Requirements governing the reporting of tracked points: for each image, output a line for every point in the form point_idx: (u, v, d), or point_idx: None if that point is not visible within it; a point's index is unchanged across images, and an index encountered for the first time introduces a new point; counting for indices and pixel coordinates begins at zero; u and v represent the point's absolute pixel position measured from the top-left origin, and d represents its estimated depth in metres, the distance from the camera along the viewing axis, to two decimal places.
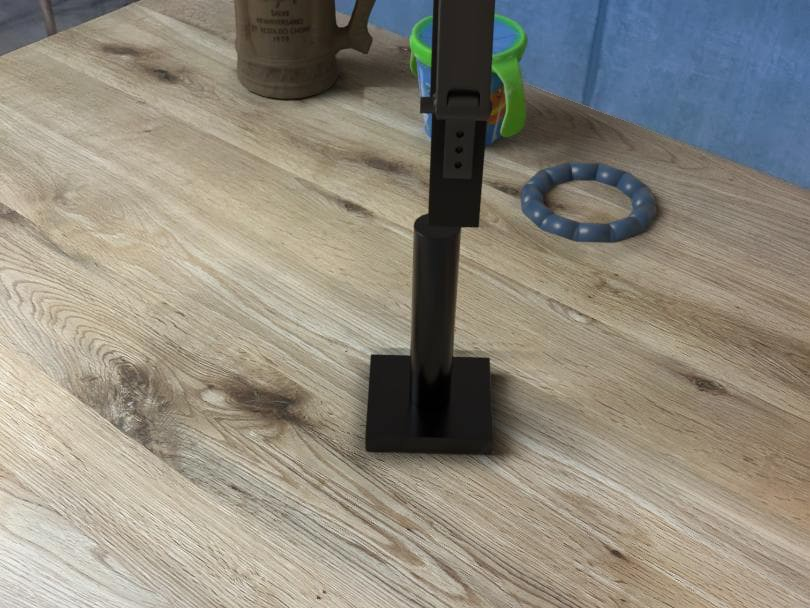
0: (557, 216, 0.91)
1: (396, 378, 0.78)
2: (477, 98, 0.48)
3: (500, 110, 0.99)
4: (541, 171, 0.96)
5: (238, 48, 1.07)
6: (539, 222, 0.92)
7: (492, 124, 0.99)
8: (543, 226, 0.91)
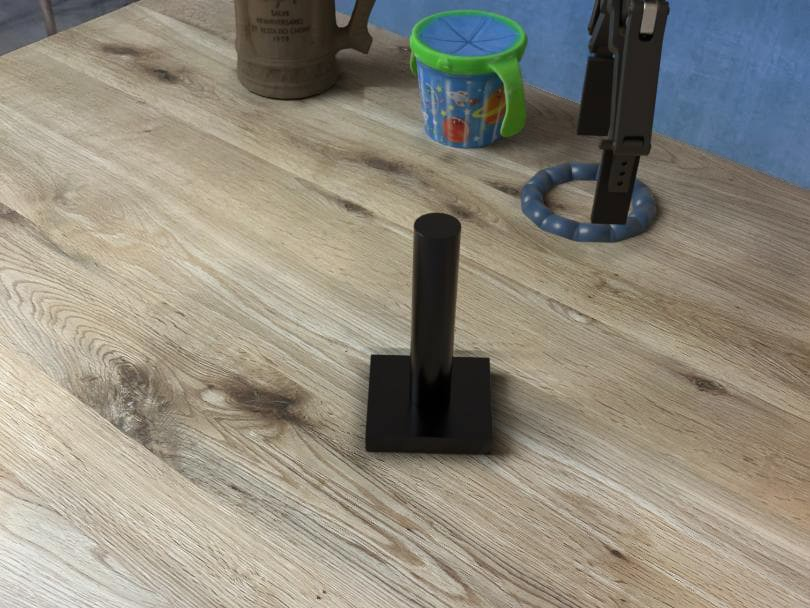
0: (557, 216, 0.91)
1: (396, 378, 0.78)
2: (642, 141, 0.74)
3: (500, 110, 0.99)
4: (541, 171, 0.96)
5: (238, 48, 1.07)
6: (539, 222, 0.92)
7: (492, 124, 0.99)
8: (543, 226, 0.91)
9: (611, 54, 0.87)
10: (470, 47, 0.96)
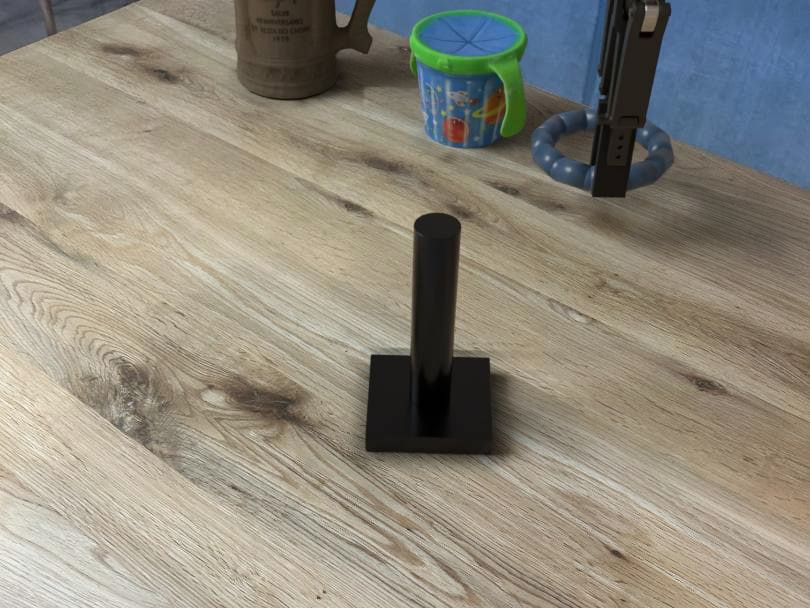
0: (568, 159, 0.87)
1: (396, 378, 0.78)
2: None
3: (500, 110, 0.99)
4: (554, 116, 0.92)
5: (238, 48, 1.07)
6: (549, 165, 0.88)
7: (492, 124, 0.99)
8: (553, 169, 0.87)
9: None
10: (470, 47, 0.96)
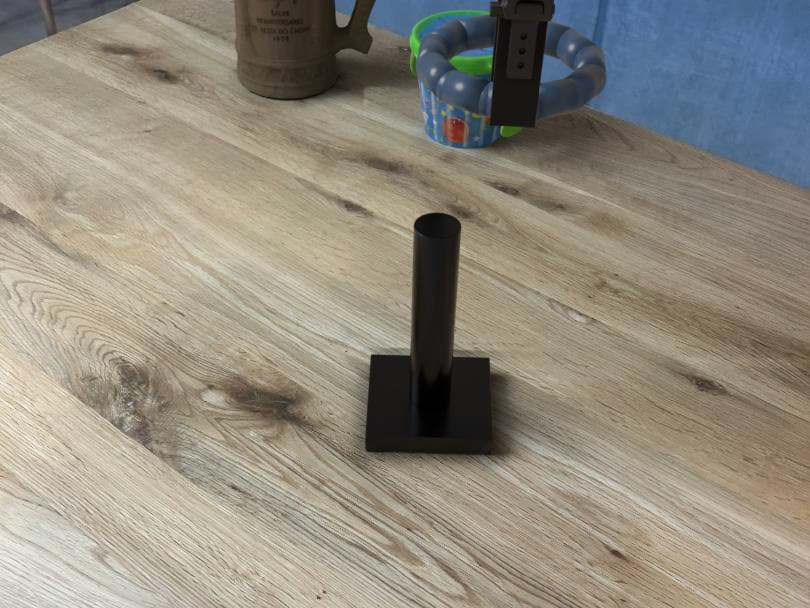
0: (460, 72, 0.64)
1: (396, 378, 0.78)
2: (542, 0, 0.55)
3: None
4: (452, 21, 0.69)
5: (238, 48, 1.07)
6: (435, 81, 0.65)
7: None
8: (440, 86, 0.64)
9: None
10: None
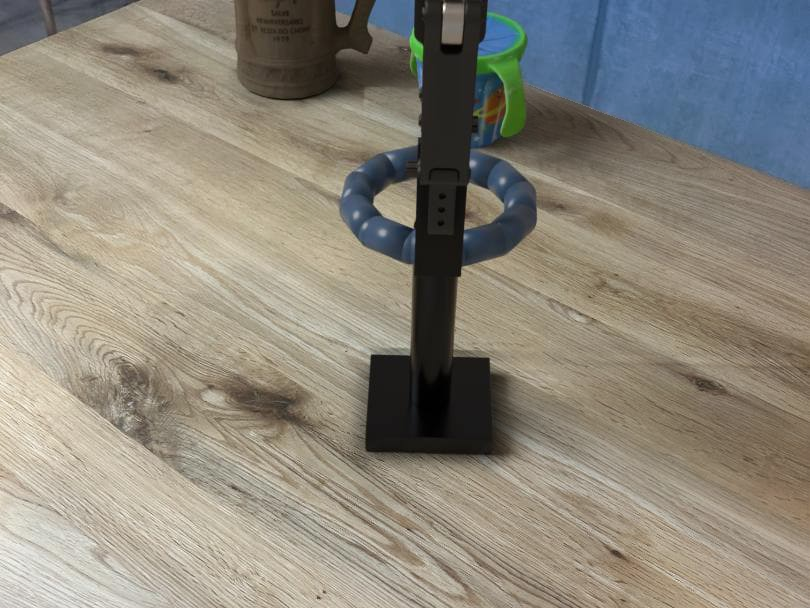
0: (383, 219, 0.61)
1: (396, 378, 0.78)
2: None
3: (500, 110, 0.99)
4: (378, 155, 0.66)
5: (238, 48, 1.07)
6: (358, 227, 0.62)
7: (492, 124, 0.99)
8: (362, 233, 0.62)
9: None
10: None
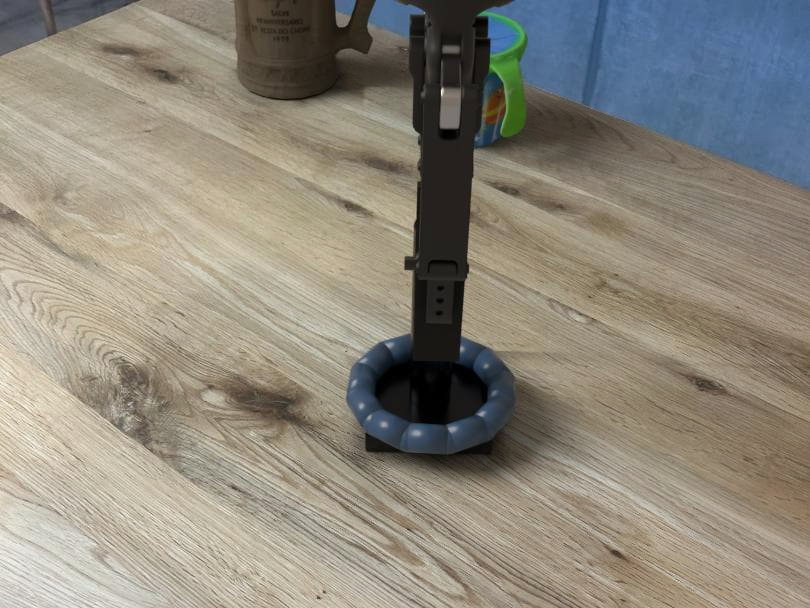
0: (383, 413, 0.72)
1: (396, 378, 0.78)
2: (455, 263, 0.53)
3: (500, 110, 0.99)
4: (379, 344, 0.77)
5: (238, 48, 1.07)
6: (362, 419, 0.73)
7: (492, 124, 0.99)
8: (366, 425, 0.72)
9: None
10: None
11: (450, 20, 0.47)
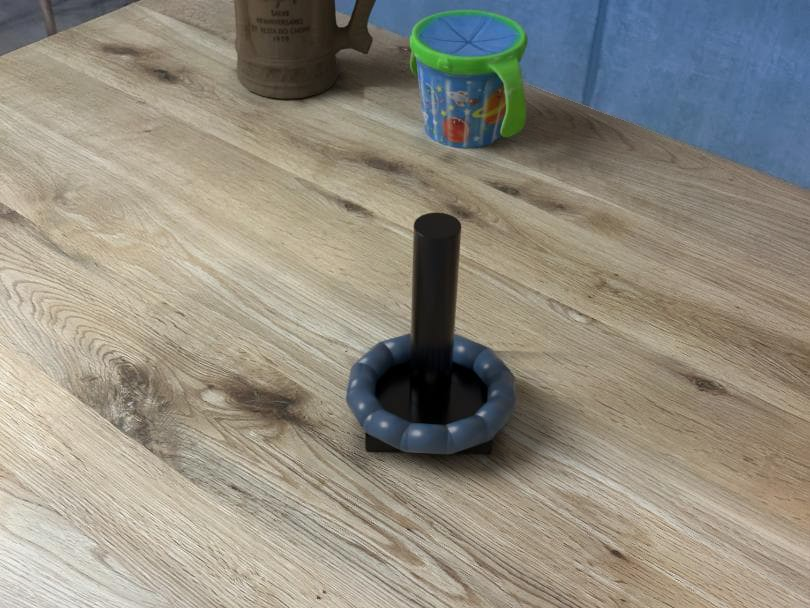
0: (383, 413, 0.72)
1: (396, 378, 0.78)
2: None
3: (500, 110, 0.99)
4: (379, 344, 0.77)
5: (238, 48, 1.07)
6: (362, 419, 0.73)
7: (492, 124, 0.99)
8: (366, 425, 0.72)
9: None
10: (470, 47, 0.96)
11: None
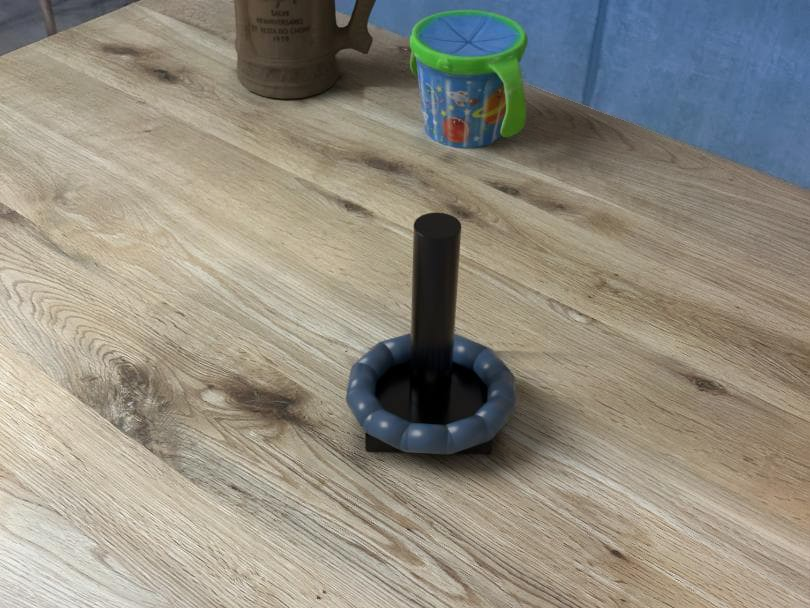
0: (383, 413, 0.72)
1: (396, 378, 0.78)
2: None
3: (500, 110, 0.99)
4: (379, 344, 0.77)
5: (238, 48, 1.07)
6: (362, 419, 0.73)
7: (492, 124, 0.99)
8: (366, 425, 0.72)
9: None
10: (470, 47, 0.96)
11: None
